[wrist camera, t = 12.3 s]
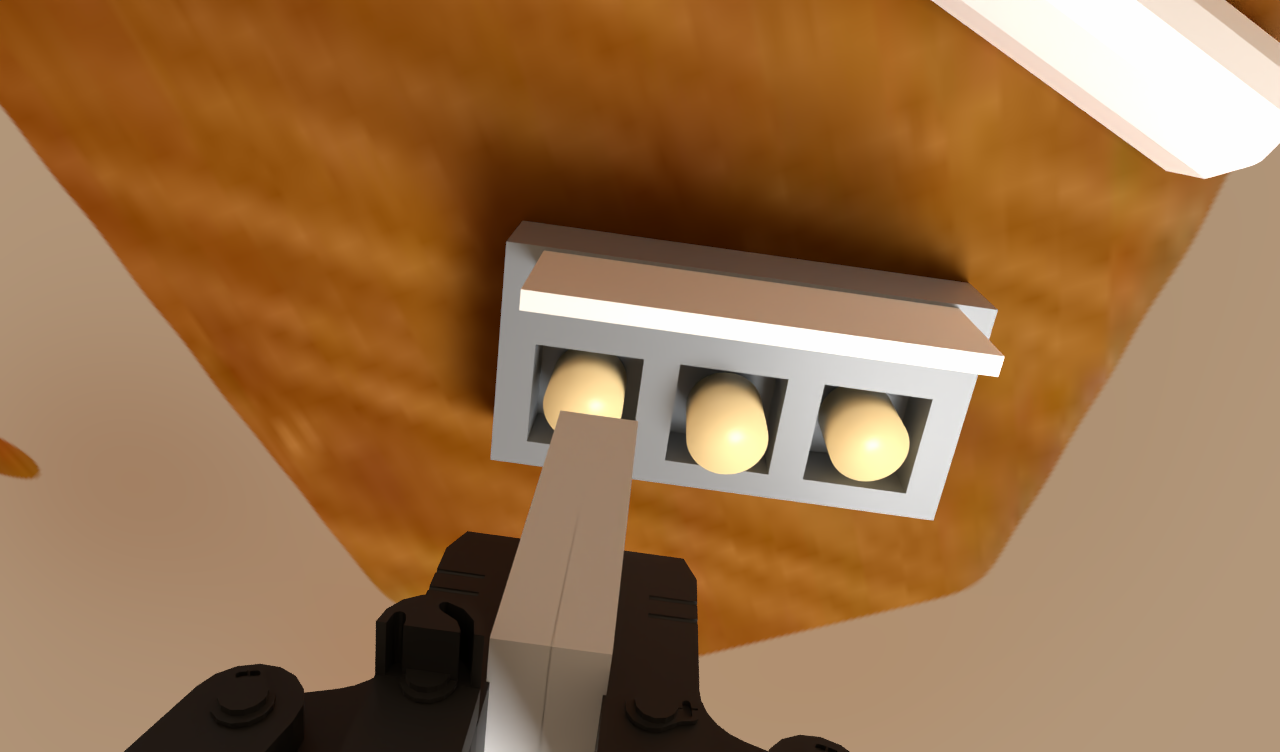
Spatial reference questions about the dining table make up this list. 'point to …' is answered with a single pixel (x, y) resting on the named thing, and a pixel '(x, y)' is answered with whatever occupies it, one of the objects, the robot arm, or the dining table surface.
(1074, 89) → the crystal
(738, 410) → the button middle
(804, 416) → the console
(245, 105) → the dining table surface
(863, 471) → the button right
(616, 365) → the button left
